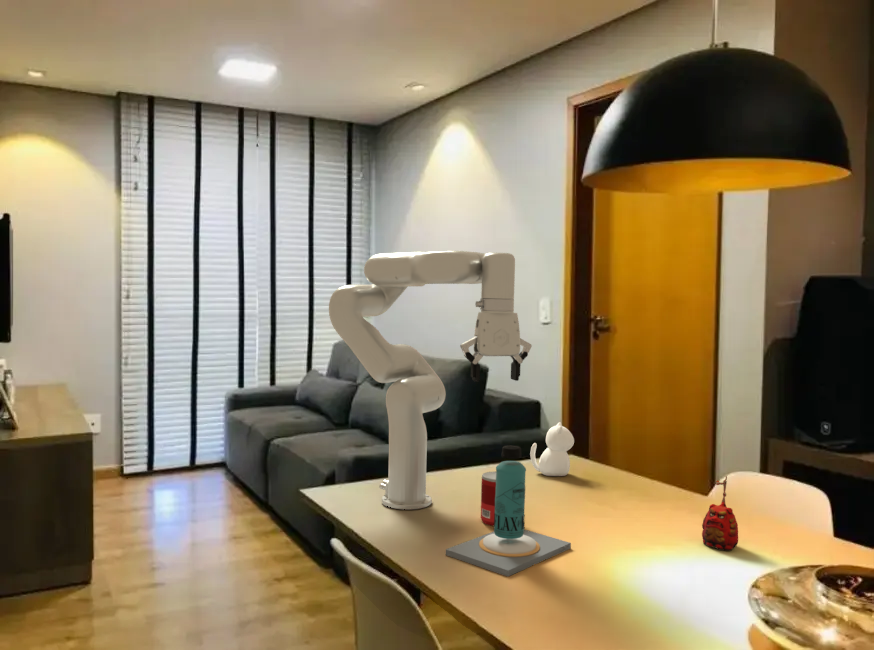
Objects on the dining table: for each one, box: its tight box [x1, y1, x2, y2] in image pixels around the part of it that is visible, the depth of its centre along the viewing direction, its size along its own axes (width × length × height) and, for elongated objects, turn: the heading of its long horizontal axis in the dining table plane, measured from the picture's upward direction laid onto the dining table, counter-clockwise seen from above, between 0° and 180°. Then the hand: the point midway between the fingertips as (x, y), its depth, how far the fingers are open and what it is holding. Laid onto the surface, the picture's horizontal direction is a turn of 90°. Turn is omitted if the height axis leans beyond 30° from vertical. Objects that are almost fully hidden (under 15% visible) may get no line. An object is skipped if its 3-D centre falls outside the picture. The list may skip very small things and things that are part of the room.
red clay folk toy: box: [701, 475, 739, 552], centre depth 167 cm, size 8×7×15 cm
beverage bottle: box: [493, 445, 527, 539], centre depth 161 cm, size 6×7×20 cm
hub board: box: [445, 529, 572, 577], centre depth 161 cm, size 16×22×2 cm
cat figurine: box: [529, 421, 575, 477], centre depth 225 cm, size 9×12×15 cm
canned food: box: [480, 470, 496, 527], centre depth 181 cm, size 8×8×11 cm
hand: (495, 380), depth 179 cm, fingers open, 9 cm apart
